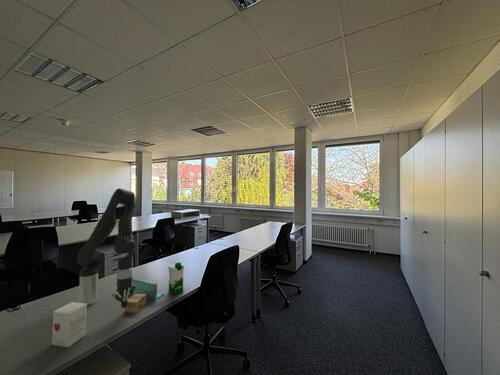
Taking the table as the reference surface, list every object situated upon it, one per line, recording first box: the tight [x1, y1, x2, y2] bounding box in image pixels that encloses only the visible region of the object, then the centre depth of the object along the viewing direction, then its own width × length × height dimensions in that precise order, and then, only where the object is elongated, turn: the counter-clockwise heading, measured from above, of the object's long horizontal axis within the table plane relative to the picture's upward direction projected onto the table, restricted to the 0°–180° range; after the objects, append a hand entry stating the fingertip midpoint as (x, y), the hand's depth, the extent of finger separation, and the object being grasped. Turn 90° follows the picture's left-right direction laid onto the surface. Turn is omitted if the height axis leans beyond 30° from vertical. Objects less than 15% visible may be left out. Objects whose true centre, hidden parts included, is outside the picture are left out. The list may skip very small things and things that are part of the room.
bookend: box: [132, 278, 165, 301], centre depth 144 cm, size 8×20×10 cm, turn 68°
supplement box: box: [51, 301, 88, 348], centre depth 100 cm, size 9×9×15 cm
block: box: [124, 294, 147, 314], centre depth 128 cm, size 10×7×6 cm
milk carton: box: [168, 262, 185, 296], centre depth 149 cm, size 9×9×20 cm
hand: (124, 307), depth 121 cm, fingers closed
